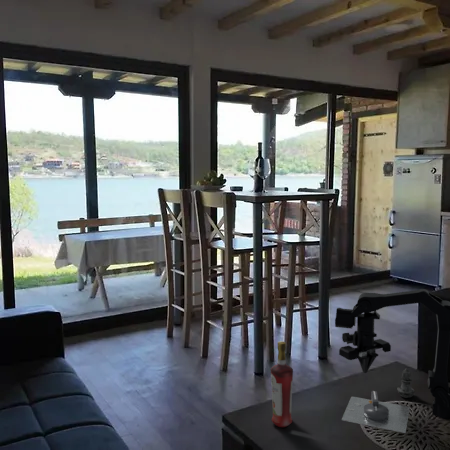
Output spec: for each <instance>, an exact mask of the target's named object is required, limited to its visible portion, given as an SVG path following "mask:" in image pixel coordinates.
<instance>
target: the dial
mask: <svg viewBox="0 0 450 450" xmlns="http://www.w3.org/2000/svg"><path fill="white" fill-rule="evenodd" d="M370 398H371V399H370V400H372V403H370V404H366V405H365V406H364V415H365V416H366V417H367V418H369V419H371V420H375V421H383V420H386V419H388V417H389V410H388V408H387V407H385V406H383V405H381V404H379V402H378V401H379V396H378V391H377V390H376V391H375V390H371V395H370Z"/></svg>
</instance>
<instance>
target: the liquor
mask: <svg viewBox="0 0 450 450" xmlns="http://www.w3.org/2000/svg"><path fill="white" fill-rule="evenodd" d="M286 344H287V342H285V341H283V340H282V341H281V340H280V341H277V351H278V352H277V361H276V364H274V365H273V366H272V367H270V383H271V385H270V387H271V400H272V401H271V402H272V417H271V422H272V423H273V424H274V425H275V426H276V427H277V428H287V427H289V425H290V424H292V423H293V418H292V399H293V397H292V396H293V380H294V369H293V368H292V367H291V366H290V365H288V364H287V359H286V347H287V345H286Z"/></svg>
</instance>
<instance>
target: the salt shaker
mask: <svg viewBox="0 0 450 450" xmlns="http://www.w3.org/2000/svg"><path fill="white" fill-rule="evenodd" d="M411 376H412V375H411V371H410V370H409V369H408V368H407V367H406V368H405V369H403V370H402V371H401V378H400V381H401V385H400V386H398V387H397V391H398V394H399V396H400V397H402V398H406V399H410V398H412V397H413V396H414V393H415V389H414V388H413V387H411V382H412V379H411Z"/></svg>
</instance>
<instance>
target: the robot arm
mask: <svg viewBox="0 0 450 450" xmlns="http://www.w3.org/2000/svg"><path fill="white" fill-rule="evenodd" d="M413 304H423V305H424V306H425V307H426V308H427V309H429V310H430V311H431V312H433V314H435V316H436V322H437V323H436V324H437V337H436V347H435V356H434V357H435V358H434V367H433V369H432V370H430V369H429V370H428V371H427V372H428V379H427V380H426V381H427V388H428V390H430V395H431V396H432V397H433V398H434V400H433V401H432V415H434V416H436V417H438V418H441V419H444V420H450V385H449V379H448V366H449V365H448V364H449V363H448V362H449V352H450V300H443V299H442V298H440V297H439V296H437V295H435V294H433V293H431V292H429V290H427V289H424V288H420V289H416V290H407V291H399V292H392V293H391V292H390V293H378V292H362V293H361V294H360V295H359V296H358V299H357V303H356V304H355V305H354V306H353V308H351V309H350V308H342V307H336V313H335V318H334V326H335V328H339V329H340V328H341V329H353V328H354V327H355V326H356V329H357V330H355V331H354V332H353V333H350V332H344V333H342V335H341V338H342V339H341V340H342V342H343V343H346V345H345V346H341V347H339V349H338V350H339V351H338V355H339V356H341V357H343V358H344V359H346V360H348V361H353V360H358V363H359V364H360V367H361V370H362V373H364V374H366V373H368V371H369V369H370V368H371V366H372V365H373V363H374V361H375V360H376V358H377V357H379V354H378V353H377V351H376V350H379V349H380V350H382V351H383V352H384V353H389V352H391V351H392V345H391V344H390V342H388V341H386V340H383V339H381V338H378V339H375V338H376V337H378V335H377V333H376V332H375V320H380V318H381V314H379V313H378V312H377V311H379V310H381V309H384V308H387V307H394V306H405V305H413ZM356 321H357V322H356ZM356 323H357V324H356ZM350 344H352V346H353V347H352V346H350Z"/></svg>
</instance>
